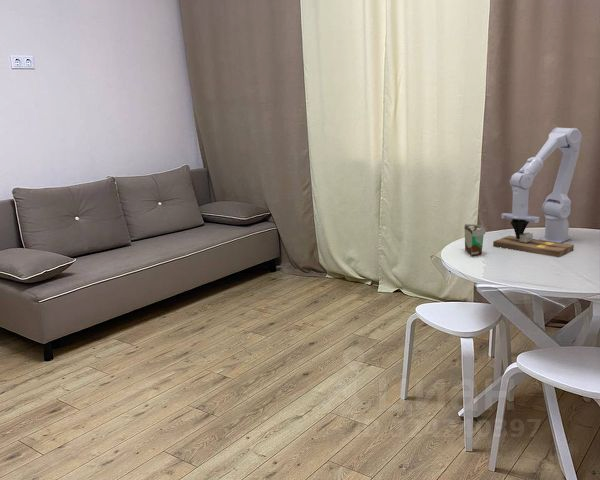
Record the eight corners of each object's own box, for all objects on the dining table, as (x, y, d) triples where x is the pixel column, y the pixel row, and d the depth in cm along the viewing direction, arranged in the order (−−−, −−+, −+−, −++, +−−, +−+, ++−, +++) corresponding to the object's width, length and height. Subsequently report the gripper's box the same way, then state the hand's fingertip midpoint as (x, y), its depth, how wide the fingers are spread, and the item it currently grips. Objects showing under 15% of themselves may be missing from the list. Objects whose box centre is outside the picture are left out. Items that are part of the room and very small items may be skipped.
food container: (489, 256, 219) (489, 230, 217) (472, 257, 220) (472, 231, 217) (480, 248, 231) (480, 223, 229) (464, 249, 232) (464, 224, 229)
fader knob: (525, 239, 231) (525, 232, 231) (532, 240, 229) (532, 233, 229) (519, 241, 229) (519, 234, 228) (526, 242, 226) (527, 235, 226)
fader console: (509, 240, 241) (509, 235, 240) (573, 250, 222) (573, 244, 221) (493, 246, 233) (493, 241, 233) (558, 257, 214) (558, 251, 214)
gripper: (497, 203, 230) (496, 238, 234) (533, 207, 220) (531, 243, 223) (507, 201, 235) (506, 234, 238) (542, 204, 224) (541, 239, 228)
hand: (519, 238), depth 231 cm, fingers closed
